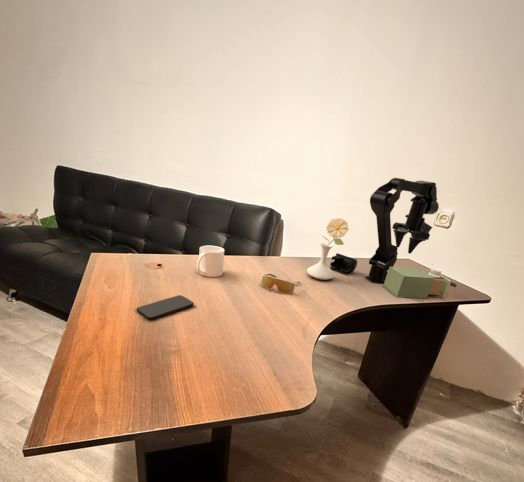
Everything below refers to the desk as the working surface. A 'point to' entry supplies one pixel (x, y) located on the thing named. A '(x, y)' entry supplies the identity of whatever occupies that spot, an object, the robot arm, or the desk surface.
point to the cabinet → (408, 282)
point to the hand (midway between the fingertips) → (403, 250)
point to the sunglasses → (278, 284)
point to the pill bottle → (435, 273)
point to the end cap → (343, 264)
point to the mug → (210, 261)
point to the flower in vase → (335, 230)
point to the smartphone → (164, 307)
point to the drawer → (441, 286)
